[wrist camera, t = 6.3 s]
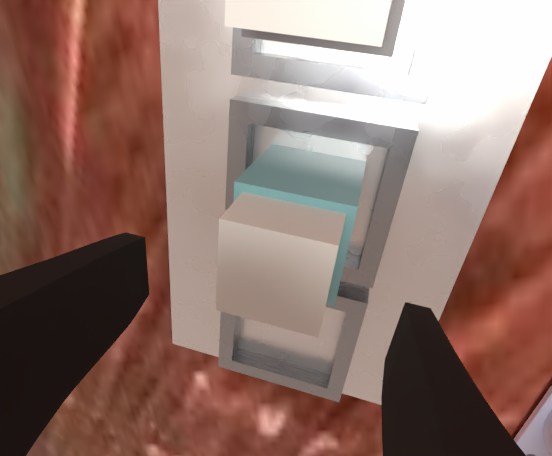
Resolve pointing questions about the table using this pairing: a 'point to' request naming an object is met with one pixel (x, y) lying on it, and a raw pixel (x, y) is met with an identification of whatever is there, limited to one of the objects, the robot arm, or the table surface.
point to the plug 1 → (321, 23)
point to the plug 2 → (287, 237)
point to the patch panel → (351, 144)
